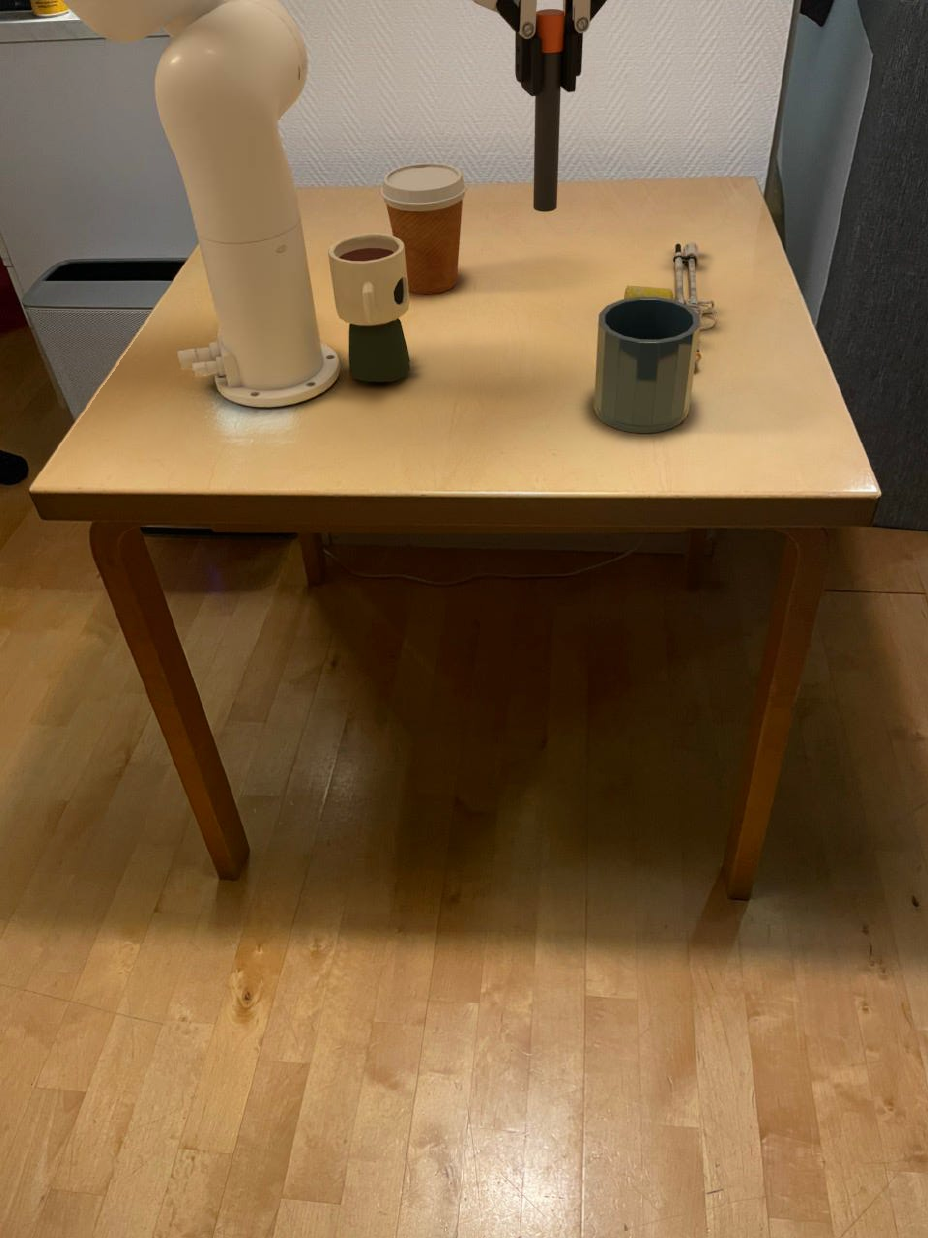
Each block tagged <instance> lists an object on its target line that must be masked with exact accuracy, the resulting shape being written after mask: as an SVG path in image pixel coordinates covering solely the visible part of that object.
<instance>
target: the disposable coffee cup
mask: <svg viewBox="0 0 928 1238" xmlns="http://www.w3.org/2000/svg"><path fill="white" fill-rule="evenodd" d="M467 190H468V184H467V182H466V181H465V179H464V176H463V173H462V171H461V170H460V169H459V168H457V167H455V166H454V165H450V164H447V163H438V162H436V163H435V162H419V163H411V164H406V165H402V166H399V167H396V168H393V169H391V170H389V171H388V172H387V173H385V175H384V176H383V181H382V186H381V187H380V191H379V192H380V195H381V198H382V200H383V201H384V203H385V205H386V210H387V213H388V218H389V223H390V228H391V233H392V236H394V237H396V238H399V239H400V240H401V241H402V242H403V243H404V248H405V259H406V270H407V279H408V291H409V292H412V293H416V294H422V295H430V294H433V295H434V294H441V293H444V292H447V291H449V290H451V289H452V288H454V287H455V286H456V285H457V283H458V271H459V259H460V245H461V234H462V233H461V231H462V216H463V204H464V202H463V201H464V197H465V195H466V192H467Z"/></svg>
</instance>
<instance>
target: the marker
mask: <svg viewBox="0 0 928 1238" xmlns="http://www.w3.org/2000/svg"><path fill="white" fill-rule="evenodd" d="M536 27H537V36H538V37H539V38H541V40H542V77H541V93H540V94H539V95H538V96H534V97H535V98H534V138H533V139H534V142H533V143H534V144H533V146H534V149H533V201H532V202H533V204H532V205H533V206H532V207H533V210H535V211H537V212H542V213H546V212H552V211H555V210H556V209H557V207H558V180H559V179H558V178H559V152H560V151H559V149H560V148H559V147H560V121H561V119H560V118H561V115H560V114H561V92H562V91H561V89H562V87H561V63H562V50H563V42H564V11H563V9H557V8H547V9H545V8H544V9H540V10H536Z"/></svg>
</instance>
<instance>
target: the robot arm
mask: <svg viewBox="0 0 928 1238" xmlns="http://www.w3.org/2000/svg"><path fill="white" fill-rule="evenodd" d="M60 1H61V2H62V3H63V4H64V5H65V6H66V8H68V9H69V10H70V11H71V12H72V13H73V14H74V15H75V16H76V17H77V18H78V19H79V20H80V21H81V22H82V23H83V24H84V25H85V26H86V27H88V28H89V29H90V30H92V32H94V33H95V34H97V35H98V36H100V37H102V38H104V39H106V40H108V41H110V42H115V43H122V44H123V43H125V44H126V43H128V44H129V43H133V42H137V41H140V40H143V39H144V38H147V37H149V36H150V35H152V34H154V33H156V32H157V31H159V30H160V29H163V31H164V32H165V33H166V34H167V35H168V36H169V37H170V38H171V40H170V41H169V43H168V44H167V46H166V47H165V49H164V50H163V52H162V54H161V56H160V59H159V60H158V64H157V67H156V72H155V78H154V96H155V104H156V108H157V112H158V116H159V117H158V118H159V119H160V123H161V126H162V127H163V131H164V133H165V136H166V138H167V140H168V141H167V142H168V143H169V145H170V148H171V150H172V152H173V155H174V157H175V161H176V163H177V167H178V169H179V172H180V176H181V178H182V181H183V185H184V189H185V192H186V196H187V200H188V203H189V207H190V211H191V216H192V219H193V220H192V221H193V225H194V228H195V232H196V236H197V241H198V244H199V249H200V253H201V258H202V261H203V265H204V270H205V275H206V278H207V282H208V287H209V293H210V296H211V300H212V304H213V308H214V313H215V316H216V317H215V318H216V321H217V325H218V326H217V327H218V331H217V332H216V335H217V339H218V340H216V341H213V342H208V345H209V346H204V347H200V348H195V347H193V348H188V349H182V350H177V351H176V352H177V357H178V361H179V362H178V363H179V365H180V369H181V371H188V370H192V372H193V375H194V378H196V379H197V378H202V377H208V376H209V375H214V381H215V385H216V389H217V390H218V393H220V395H222V396H223V397H224V398H225V399H227V400H229V401H231V402H233V403H235V404H238V405H242V406H247V407H253V408H277V407H285V406H289V405H295V404H298V403H302V402H305V401H308V400H310V399H312V398H315V397H317V396H319V395H321V394H322V393H324V392H325V391H327V390H328V389H329V388H331V387H332V386H333V384H334V383H335V382H336V381H338V378H339V375H340V374H341V373H340V371H341V366H340V357H339V356H338V353H337V351H335V350H334V349H333V348H332V347H330V346H329V345H327V344H325V343H323V342H321V336H320V330H319V324H318V318H317V311H316V305H315V299H314V298H315V297H314V293H313V292H314V291H313V287H312V286H313V285H312V280H311V273H310V267H309V261H308V255H307V249H306V241H305V235H304V229H303V222H302V216H301V211H300V204H299V200H298V199H299V198H298V194H297V189H296V188H297V187H296V183H295V179H294V176H293V172H292V169H291V166H290V163H289V159H288V157H287V154H286V152H285V149H284V146H283V142H282V138H281V136H280V135H281V134H280V131H279V130H280V129H279V121H280V120H281V118H282V116H284V114H286V112H288V110H289V109H290V108H291V107H292V106H293V105H294V104H295V102H296V101H297V100H298V98H299V97H300V95H301V93H302V92H303V90H304V87H305V85H306V81H307V78H308V69H309V58H308V52H307V47H306V43H305V41H304V39H303V36H302V34H301V32H300V29H299V28H298V26H297V24H296V22H295V21H294V19H293V18H292V16H291V15H290V14H289V12H288V11H287V10H286V8H285V7H284V6H283V5H282V3H281V2H280V1H279V0H60ZM471 1H472V2H473V3H475V4H477V5H478V6H481V7H483V8H485V9H488V10H490V11H492V12H495V13H497V14H498V15H499V16H500V17H501V18H502V19H503V20H504V22H506V24H508V26H509V27H510V29H512V30H513V32H514V34H515V35H514V36H515V37H514V38H515V39H514V42H515V43H514V44H515V45H514V47H515V51H514V57H515V58H514V60H515V61H514V62H515V63H514V75H515V79H516V81H517V83H519V84H520V87H521V89H522V90H524V91H525V92H526V93H527V94H528V95H529V96H530V97H535V96H538V95H539V94H540V93H541V77H542V40H541V38H539V37H538V36H537V27H536V12H537V5H538V3H537V2H538V0H471ZM606 2H608V0H562V11H564V42H563V50H562V63H561V89H563V90H564V92H565V91H566V92H567V93H573V92H576V89H577V77H580V76H581V75H582V67H583V66H582V63H583V46H584V45H583V44H584V43H583V41H584V33H586V32H587V31H588V30H589V28H590V25H591V22H592V20H593V19H594V18H595V16H596V15H597V14H598V13H599V11H601V9H602V8H603V7H604V5H605V4H606Z"/></svg>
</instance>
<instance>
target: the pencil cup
mask: <svg viewBox="0 0 928 1238" xmlns="http://www.w3.org/2000/svg"><path fill="white" fill-rule="evenodd" d="M699 314H700V313H699ZM699 314H698V313H697V312H695V311H694V310H693V309H692V308H691V307H690V306H688V305H685V304H683V303H681V302H679V301H676V300H671V299H666V298H661V297H634V298H628V299H624V298H623V299H619V300H617V301H614V302H612V303H610V304H608V305H606V306H605V307H604V308H603V309H602V310H601V311H600V312H599V313H598V323H597V325H598V326H597V341H596V342H597V343H596V358H595V359H596V361H595V378H594V379H595V380H594V397H593V399H594V400H593V411H594V413H595V415H596V417H597V418H598V419H599V420H600V421H601V422H602V423H604V424H605V425H607V426H608V427H611V428H614V429H615V430H618V431H622V432H626V433H632V434H653V433H661V432H666V431H668V430H671V429H673V428H675V427H677V426H680V424H682V422H684V421H685V419H686V418H687V417H688V414H689V410H690V406H691V399H692V392H693V384H694V377H695V368H696V363H697V361H696V354H697V346H698V344H699V343H698V340H699V338H700V332H701V331H700V330H701V329H700V327H701V317H699Z"/></svg>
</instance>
